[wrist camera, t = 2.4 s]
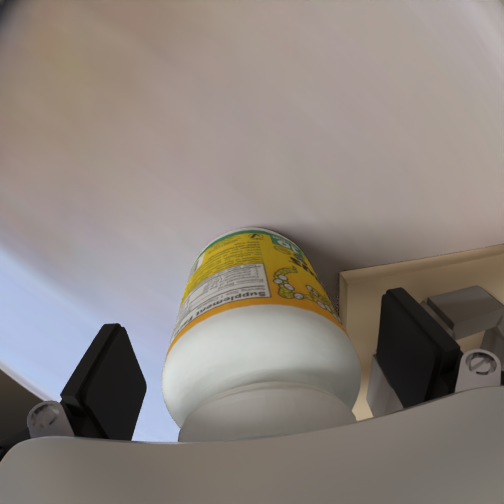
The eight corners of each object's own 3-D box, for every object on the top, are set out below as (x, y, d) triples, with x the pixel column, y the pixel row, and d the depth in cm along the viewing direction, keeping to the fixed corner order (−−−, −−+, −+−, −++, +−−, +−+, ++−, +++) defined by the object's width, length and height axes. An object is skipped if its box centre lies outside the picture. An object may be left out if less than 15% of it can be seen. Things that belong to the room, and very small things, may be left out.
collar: (339, 271, 14) (368, 313, 11) (514, 241, 14) (554, 264, 11) (332, 431, 18) (344, 474, 15) (473, 387, 18) (496, 417, 15)
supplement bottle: (170, 252, 13) (83, 436, 4) (287, 205, 13) (390, 354, 4) (221, 346, 15) (214, 531, 6) (325, 309, 15) (402, 485, 6)
